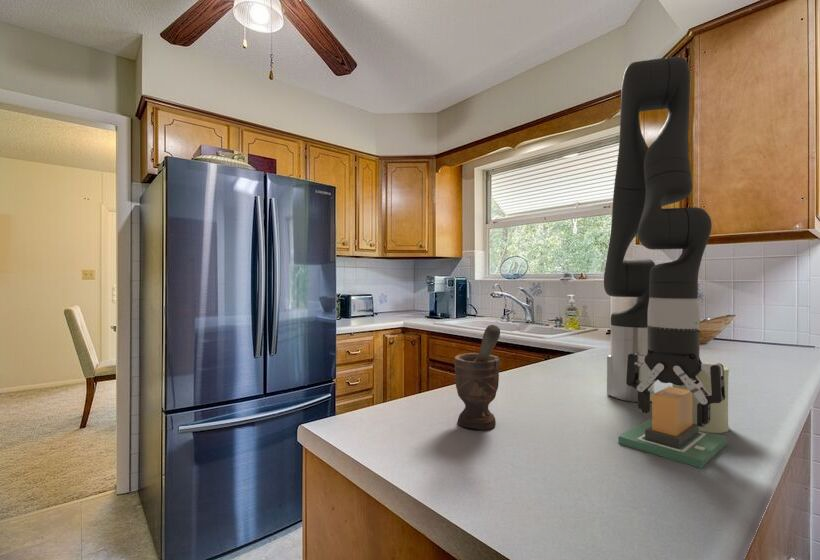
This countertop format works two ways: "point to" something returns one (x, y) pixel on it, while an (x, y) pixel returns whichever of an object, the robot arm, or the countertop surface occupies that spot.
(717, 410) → the can
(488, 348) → the mortar and pestle
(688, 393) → the block
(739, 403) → the countertop surface
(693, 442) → the header board
